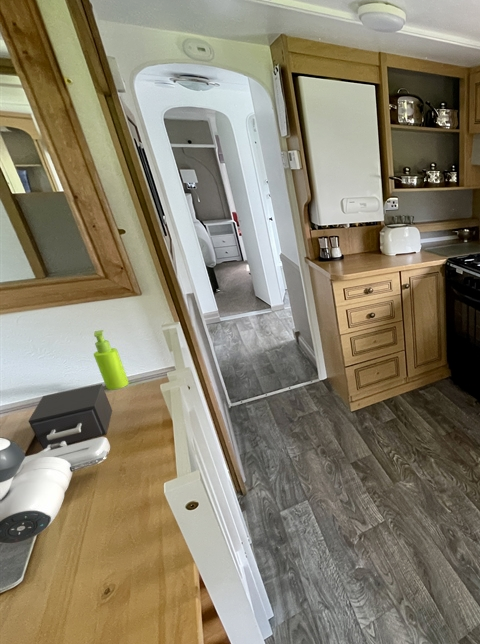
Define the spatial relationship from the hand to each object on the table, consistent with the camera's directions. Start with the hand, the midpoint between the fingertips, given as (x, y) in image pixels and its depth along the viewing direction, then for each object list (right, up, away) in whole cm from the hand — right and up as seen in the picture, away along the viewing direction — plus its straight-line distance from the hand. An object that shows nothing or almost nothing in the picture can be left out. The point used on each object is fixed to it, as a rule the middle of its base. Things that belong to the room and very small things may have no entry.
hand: (58, 445), depth 93 cm
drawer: (-8, 0, +12) cm, 15 cm away
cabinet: (-10, 0, +16) cm, 19 cm away
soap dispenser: (-21, +10, +39) cm, 46 cm away
